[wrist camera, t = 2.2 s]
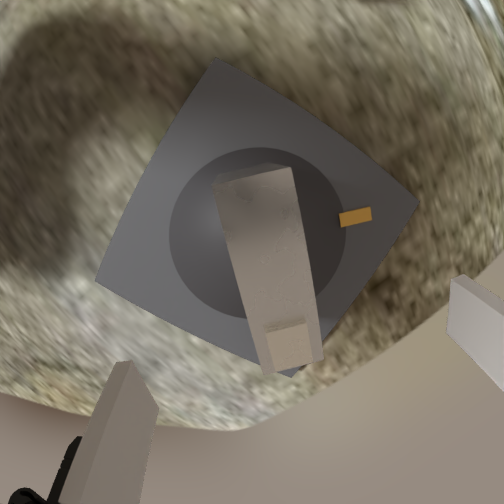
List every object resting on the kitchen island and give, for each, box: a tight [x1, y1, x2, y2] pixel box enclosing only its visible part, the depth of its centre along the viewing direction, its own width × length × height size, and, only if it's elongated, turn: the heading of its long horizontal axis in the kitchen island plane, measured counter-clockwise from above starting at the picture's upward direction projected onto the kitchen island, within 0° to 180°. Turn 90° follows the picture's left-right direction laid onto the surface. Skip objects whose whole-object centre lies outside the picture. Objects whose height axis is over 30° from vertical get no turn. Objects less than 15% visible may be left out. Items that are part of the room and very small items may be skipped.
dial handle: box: [211, 163, 324, 375], centre depth 21 cm, size 12×4×10 cm, turn 13°
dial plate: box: [95, 58, 420, 378], centre depth 26 cm, size 22×22×2 cm
